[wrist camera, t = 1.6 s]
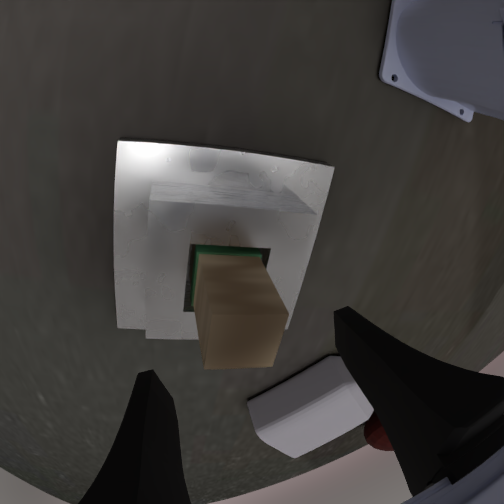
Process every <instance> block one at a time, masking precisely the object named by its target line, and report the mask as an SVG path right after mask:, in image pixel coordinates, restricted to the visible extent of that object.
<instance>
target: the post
mask: <svg viewBox="0 0 504 504" xmlns="http://www.w3.org/2000/svg"><path fill="white" fill-rule="evenodd" d="M261 257H262V254H261V253H260V251H259V249H258V248H254V247H236V246H219V245H201V244H193V245H192V253H191V263H190V272H189V278H190V285H191V292H190V301H191V306H194V312H195V319H196V325H197V331H198V337H199V343H200V349H201V354H202V360H203V365H204V369H237V368H257V367H272V366H273V363H274V360H275V357H276V354H277V351H278V348H279V345H280V342H281V339H282V335H283V332H284V329H285V326H286V323H287V320H288V317H289V312H288V311H287V309H286V307H285V305H284V303H283V301H282V299H281V297H280V295H279V293H278V291H277V289H276V287H275V286H274V284H273V282H272V280H271V278H270V276H269V274H268V272H267V270H266V268H265V266H264V264H263V262H262V261H261Z"/></svg>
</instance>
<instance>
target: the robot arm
mask: <svg viewBox="0 0 504 504" xmlns="http://www.w3.org/2000/svg"><path fill="white" fill-rule="evenodd" d="M392 75H393V76H394V81H392V78H391V77H392ZM379 77H380V79H381V81H382V82H384V83H386V84H389V85H391V86H394V87H396V88H398V89H401V90H403V91H405V92H407V93H410V94H412V95H414V96H416V97H418V98H421V99H423V100H425V101H427V102H429V103H431V104H433V105H435V106H437V107H439V108H441V109H443V110H445V111H447V112H449V113H451V114H452V115H454V116H456V117H458V118H460V119H462V120H463V121H466V122H470V121H471V120H472V117H473V112H478V113H481V114H485V115H488V116H492V117H495V118H498V119H502V120H504V0H392V4H391V10H390V16H389V23H388V28H387V34H386V40H385V45H384V51H383V56H382V61H381V66H380V71H379ZM334 326H335V345H336V348H337V350H338V352H339V354H340V356H341V358H342V360H343V362H344V364H345V366H346V368H347V369H348V371H349V372H350V374H351V376H352V377H353V379H354V380H355V382H356V383H357V385H358V386H359V388H360V389H361V391H362V392H363V394H364V395H365V397H366V398H367V400H368V401H369V403H370V404H371V406H372V407H373V409H374V411H375V413H376V414H377V416H378V418H379V420H380V422H381V424H382V426H383V428H384V430H385V432H386V434H387V436H388V439H389V441H390V443H391V445H392V447H393V450H394V452H395V454H396V457H397V459H398V461H399V464H400V466H401V468H402V471H403V473H404V476H405V479H406V482H407V484H408V487H409V490H410V492H411V494H412V496H413V497H412V498H410V499H409V500H407V501H405V502H403V503H401V504H504V377H500V376H494V375H488V374H483V373H478V372H474V371H470V370H466V369H463V368H460V367H457V366H454V365H451V364H448V363H445V362H442V361H440V360H437V359H435V358H433V357H430V356H428V355H426V354H424V353H422V352H420V351H418V350H416V349H414V348H412V347H410V346H408V345H406V344H405V343H403V342H401V341H399V340H398V339H396V338H394V337H393V336H391V335H390V334H388V333H386V332H385V331H383V330H382V329H380V328H379V327H377V326H376V325H374V324H373V323H371V322H370V321H368V320H367V319H366V318H364V317H363V316H361V315H360V314H359V313H357V312H356V311H355V310H353V309H352V308H350V307H349V306H347V307H344V308H342V309H339V310H336V311H334ZM78 504H191V502H190V499H189V495H188V491H187V487H186V483H185V479H184V474H183V468H182V459H181V449H180V439H179V428H178V420H177V415H176V410H175V405H174V401H173V398H172V396H171V395H170V393H169V392H168V391H167V389H166V388H165V386H164V385H163V384H162V382H161V381H160V379H159V378H158V376H157V375H156V373H155V372H154V370H149V371H145V372H141V373H138V375H137V378H136V381H135V385H134V388H133V391H132V394H131V397H130V400H129V403H128V406H127V409H126V412H125V415H124V418H123V421H122V423H121V426H120V428H119V431H118V433H117V436H116V439H115V441H114V443H113V446H112V448H111V450H110V452H109V454H108V456H107V458H106V460H105V462H104V464H103V466H102V468H101V470H100V471H99V473H98V475H97V477H96V478H95V480H94V482H93V483H92V485H91V486H90V488H89V489H88V491H87V492H86V494H85V495H84V497H83V498H82V499H81V501H80V502H79V503H78Z"/></svg>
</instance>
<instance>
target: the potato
mask: <svg viewBox="0 0 504 504" xmlns="http://www.w3.org/2000/svg"><path fill="white" fill-rule="evenodd" d="M364 436H365V439H366V441H367V443H368V444H369V445H371V446H372V447H374V448H376V449H379V450H384V451H394V450H393V447H392V445H391V443H390V441H389V439H388V436H387V434H386V432H385V430H384V428H383V426H382V424H381V422H380V420H379V418H378V416H377V414H376V413H375V412H374V413H373V414H372V415H371V416H370V418H369V419H368V420H367V421H366V424H365V427H364Z"/></svg>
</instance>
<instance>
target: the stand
mask: <svg viewBox="0 0 504 504" xmlns="http://www.w3.org/2000/svg"><path fill="white" fill-rule="evenodd" d="M334 168H335V167H334V166H332V165H330V164H328V163H325V162H320V161H314V160H309V159H303V158H298V157H292V156H286V155H280V154H274V153H267V152H260V151H253V150H246V149H239V148H231V147H223V146H215V145H206V144H196V143H186V142H175V141H163V140H149V139H132V138H120V139H119V140H118V144H117V156H116V171H115V191H114V278H115V298H116V313H117V326H118V328H126V329H146V338H148V339H199V337H198V331H197V325H196V319H195V312H194V306H191V301H190V292H191V285H190V278H189V272H190V263H191V253H192V245H193V244H201V245H219V246H236V247H254V248H258V249H259V251H260V253H261V254H262V257H261V261H262V262H263V264H264V266H265V268H266V270H267V272H268V274H269V276H270V278H271V280H272V282H273V284H274V286H275V287H276V289H277V291H278V293H279V295H280V297H281V299H282V301H283V303H284V305H285V307H286V309H287V311H288V312H289V317H288V320H287V323H286V326H285V329H288V326H289V323H290V320H291V317H292V314H293V311H294V308H295V304H296V301H297V298H298V295H299V292H300V288H301V285H302V282H303V279H304V275H305V272H306V269H307V265H308V262H309V259H310V255H311V252H312V249H313V245H314V242H315V238H316V235H317V231H318V228H319V224H320V221H321V217H322V213H323V210H324V206H325V202H326V199H327V195H328V191H329V187H330V184H331V180H332V176H333V172H334Z"/></svg>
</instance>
